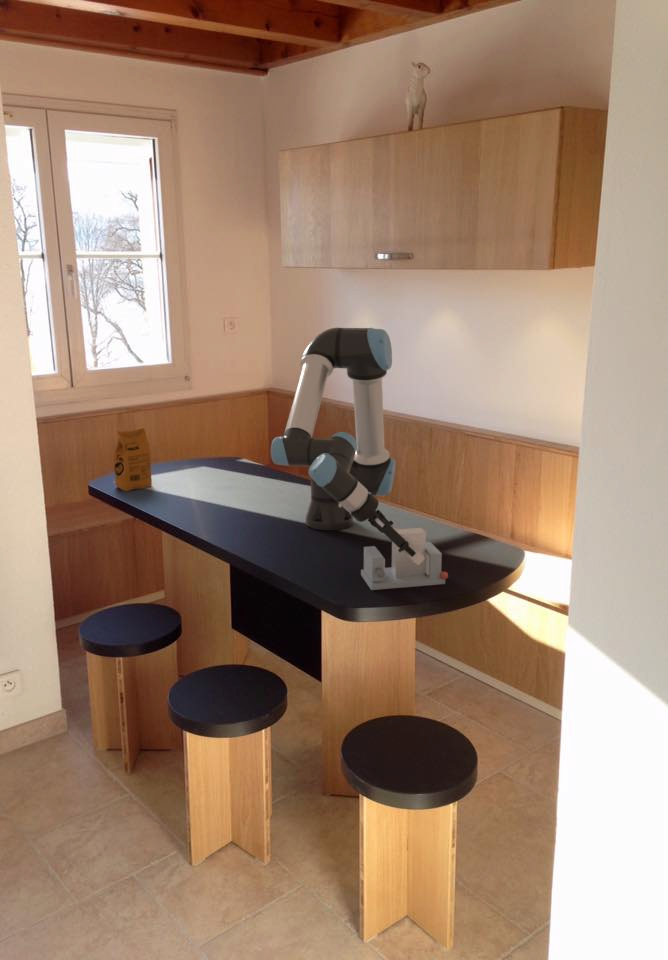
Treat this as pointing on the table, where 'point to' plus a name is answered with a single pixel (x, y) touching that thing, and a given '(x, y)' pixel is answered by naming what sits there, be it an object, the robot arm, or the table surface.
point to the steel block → (401, 561)
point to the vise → (431, 576)
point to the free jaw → (374, 564)
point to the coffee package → (132, 460)
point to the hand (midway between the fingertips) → (413, 552)
